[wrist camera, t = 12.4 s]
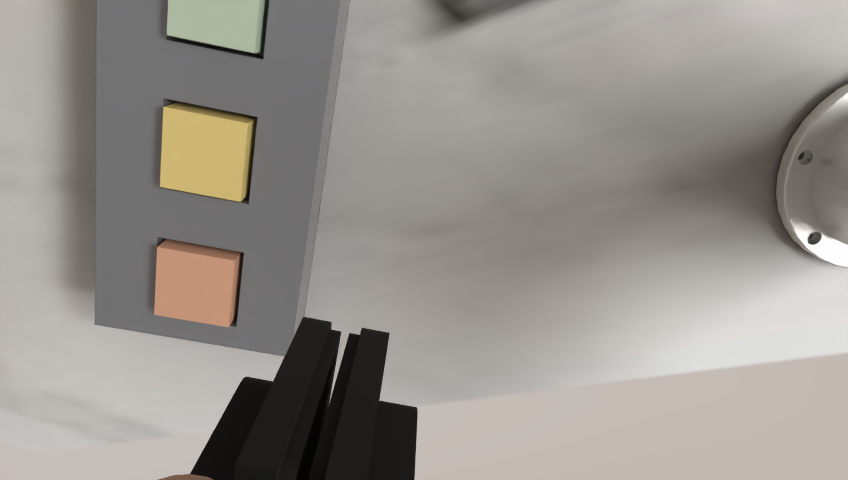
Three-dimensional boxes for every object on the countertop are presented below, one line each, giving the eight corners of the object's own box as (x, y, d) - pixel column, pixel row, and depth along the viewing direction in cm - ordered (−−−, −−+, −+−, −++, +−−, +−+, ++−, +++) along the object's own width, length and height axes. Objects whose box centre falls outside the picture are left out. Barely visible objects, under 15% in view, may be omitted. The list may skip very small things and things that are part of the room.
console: (357, -52, 32) (349, -63, 28) (302, 326, 40) (290, 357, 36) (136, -102, 31) (97, -119, 27) (125, 296, 39) (94, 324, 35)
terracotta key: (245, 247, 35) (234, 260, 33) (239, 310, 37) (228, 327, 35) (172, 234, 35) (156, 247, 33) (169, 298, 36) (154, 314, 34)
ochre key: (258, 117, 33) (247, 123, 31) (251, 191, 34) (240, 201, 32) (179, 101, 32) (163, 106, 30) (175, 177, 34) (159, 186, 32)
